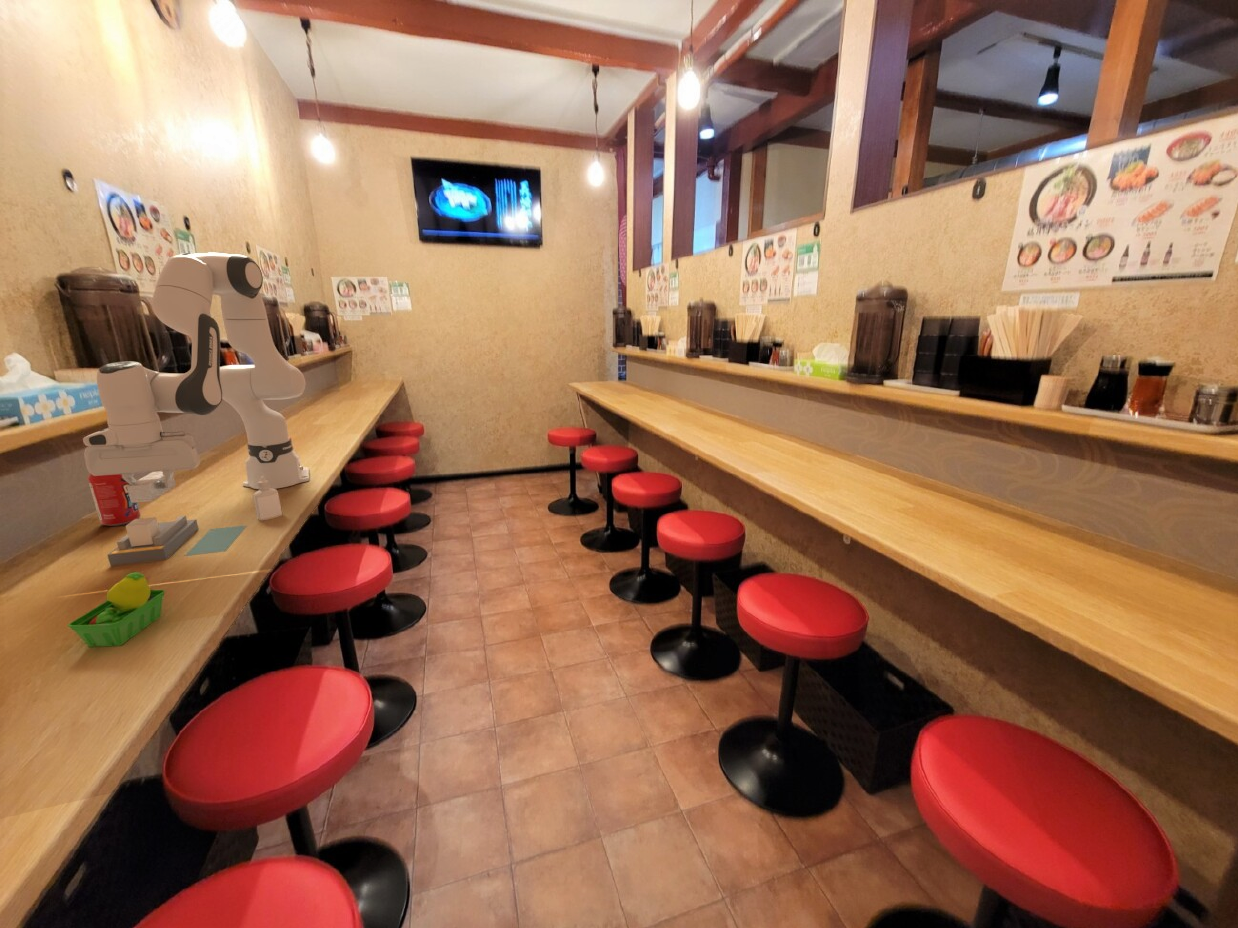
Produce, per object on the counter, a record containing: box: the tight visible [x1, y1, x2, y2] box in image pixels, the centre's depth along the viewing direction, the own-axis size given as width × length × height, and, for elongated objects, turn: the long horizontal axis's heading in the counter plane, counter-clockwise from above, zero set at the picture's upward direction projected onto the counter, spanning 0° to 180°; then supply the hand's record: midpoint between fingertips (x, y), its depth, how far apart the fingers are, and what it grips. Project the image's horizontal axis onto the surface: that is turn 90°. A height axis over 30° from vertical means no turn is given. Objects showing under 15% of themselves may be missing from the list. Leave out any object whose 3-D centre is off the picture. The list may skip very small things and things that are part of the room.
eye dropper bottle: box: [252, 477, 283, 521], centre depth 138 cm, size 4×6×12 cm
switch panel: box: [107, 515, 199, 567], centre depth 121 cm, size 18×10×5 cm, turn 20°
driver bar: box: [127, 471, 177, 503], centre depth 121 cm, size 12×4×4 cm, turn 20°
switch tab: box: [125, 516, 160, 547], centre depth 116 cm, size 4×4×5 cm
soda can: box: [87, 473, 142, 527], centre depth 133 cm, size 8×8×15 cm
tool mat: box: [184, 524, 248, 557], centre depth 125 cm, size 16×8×1 cm, turn 20°
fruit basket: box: [67, 571, 166, 648], centre depth 88 cm, size 11×9×11 cm
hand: (152, 488), depth 121 cm, fingers closed on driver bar, 4 cm apart
